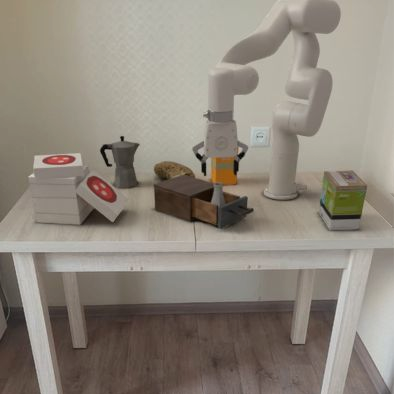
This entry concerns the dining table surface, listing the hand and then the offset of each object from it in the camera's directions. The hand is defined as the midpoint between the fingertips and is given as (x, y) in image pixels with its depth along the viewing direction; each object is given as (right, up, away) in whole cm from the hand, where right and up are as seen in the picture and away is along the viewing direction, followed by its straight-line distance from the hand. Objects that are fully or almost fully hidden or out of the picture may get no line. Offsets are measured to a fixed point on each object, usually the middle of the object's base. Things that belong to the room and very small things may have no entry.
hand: (219, 174), depth 155 cm
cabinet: (-11, -7, +16) cm, 21 cm away
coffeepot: (-36, +9, +37) cm, 53 cm away
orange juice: (+3, +12, +41) cm, 43 cm away
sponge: (-17, +12, +42) cm, 46 cm away
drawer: (+1, -12, +7) cm, 14 cm away
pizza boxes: (-47, -10, +11) cm, 49 cm away
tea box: (+40, -13, +8) cm, 43 cm away
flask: (0, -11, +7) cm, 13 cm away
